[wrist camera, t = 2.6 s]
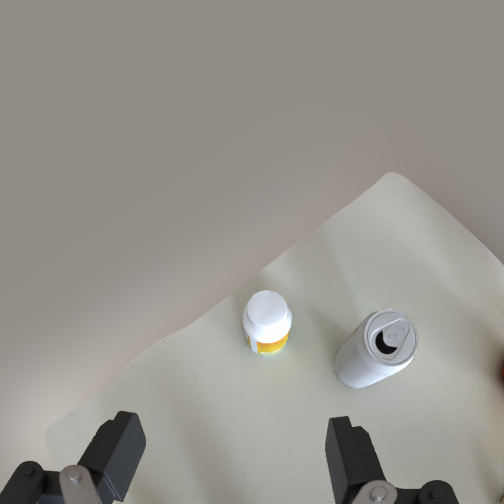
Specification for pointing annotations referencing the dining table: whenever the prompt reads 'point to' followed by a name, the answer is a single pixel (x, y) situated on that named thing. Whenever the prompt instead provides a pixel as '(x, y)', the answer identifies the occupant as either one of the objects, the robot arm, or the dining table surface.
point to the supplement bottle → (266, 322)
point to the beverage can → (377, 348)
